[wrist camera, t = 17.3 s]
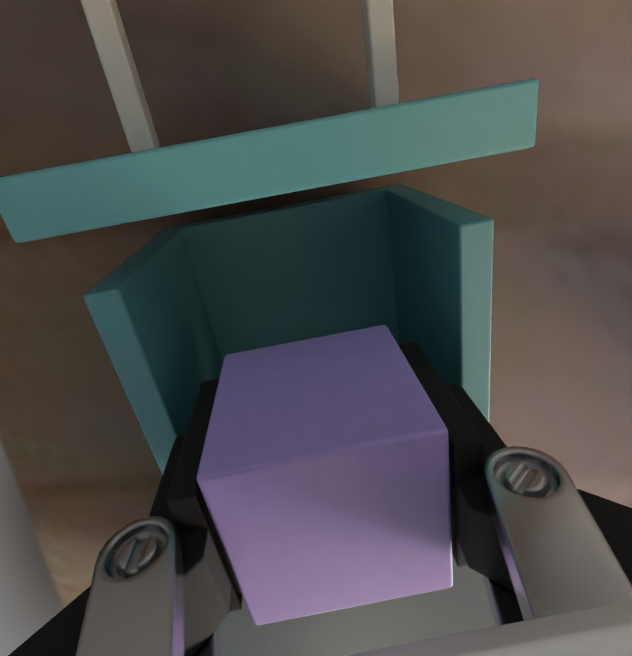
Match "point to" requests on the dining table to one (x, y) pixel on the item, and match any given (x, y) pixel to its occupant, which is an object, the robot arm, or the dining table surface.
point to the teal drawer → (281, 231)
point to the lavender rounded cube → (328, 476)
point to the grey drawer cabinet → (365, 623)
